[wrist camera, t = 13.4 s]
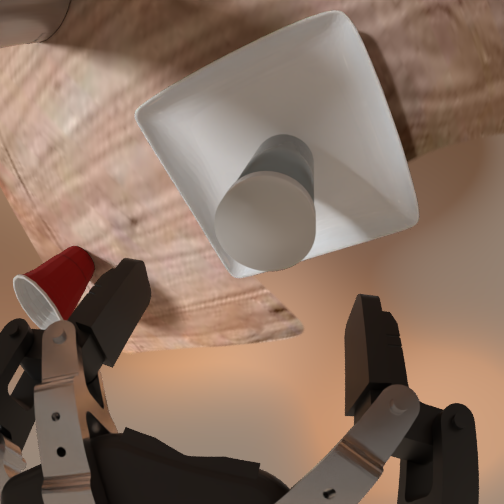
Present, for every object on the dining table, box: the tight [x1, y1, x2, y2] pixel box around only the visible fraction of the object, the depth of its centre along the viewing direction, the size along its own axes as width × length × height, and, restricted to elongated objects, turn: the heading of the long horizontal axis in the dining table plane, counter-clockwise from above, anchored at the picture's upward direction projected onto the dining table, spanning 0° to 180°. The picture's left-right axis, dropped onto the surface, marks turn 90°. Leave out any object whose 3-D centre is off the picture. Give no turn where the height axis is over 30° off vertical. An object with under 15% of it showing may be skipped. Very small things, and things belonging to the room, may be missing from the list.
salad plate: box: [135, 10, 420, 278], centre depth 26 cm, size 21×21×3 cm
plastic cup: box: [13, 246, 95, 330], centre depth 36 cm, size 11×11×12 cm
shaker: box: [214, 134, 316, 271], centre depth 20 cm, size 5×5×12 cm
